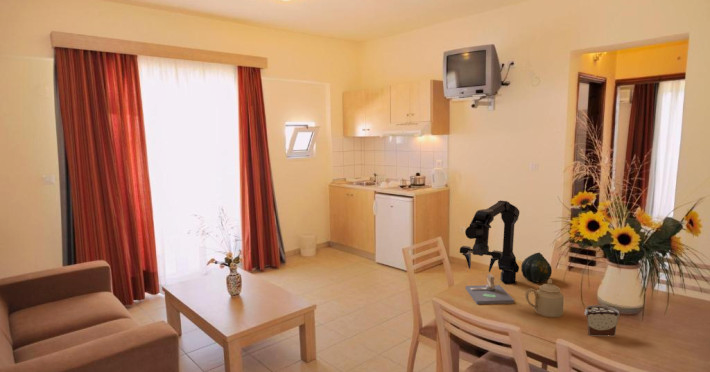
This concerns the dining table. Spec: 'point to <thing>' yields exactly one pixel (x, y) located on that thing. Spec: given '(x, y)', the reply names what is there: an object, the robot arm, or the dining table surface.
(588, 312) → the food container
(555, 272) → the dining table surface
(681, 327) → the dining table surface
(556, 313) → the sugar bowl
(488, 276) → the tuning peg
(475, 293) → the tuner dial board
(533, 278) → the squash
